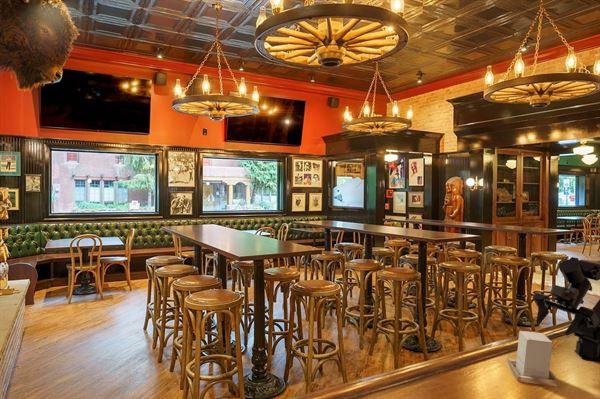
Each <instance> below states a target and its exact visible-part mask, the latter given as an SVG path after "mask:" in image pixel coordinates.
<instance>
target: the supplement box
mask: <svg viewBox="0 0 600 399" xmlns="http://www.w3.org/2000/svg"><path fill="white" fill-rule="evenodd" d="M552 348H553V341H552V340H551V339H550V338H549V337H548V336H547V335H546V334H545V333H544V332H542V333H541V332H535V331H527V330H526V331H525V330H519V332H518V340H517V351H516V359H515V360H516V366H515V369H516V371H517V372H518V374H519V375H520V376H526V377H533V378H541V379H548V380H549V379H550V378H549V370H550V369H551V368H550V367H551V358H552V350H553V349H552Z"/></svg>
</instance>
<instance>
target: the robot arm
mask: <svg viewBox="0 0 600 399" xmlns="http://www.w3.org/2000/svg"><path fill="white" fill-rule="evenodd" d="M558 269H559V272H560V273H561V275H562V276H563V279H564V280H565V281H566V282H567V285H566V286H560V285H557V284H552V287H551V289H550V291H549V295H553V299H554V300H555V301H553V300H551V299H550V297H549V295H548V294H547V295H546V294H544V293H540V292H535V293H534V294H533V295H532V297H531V298H532V300H533V301H534V303H535V304H536V306H537V315H536V322H535V323H536V324H537V325H538V326H539V325H540V324H541V323H542V322H543V321H544V320H545V318H547V316H548V315H549V314H550V310H551V309H552V308H554V309H556V310H559V311H563V312H566V313H569V314H571V315H573V316H574V318H573V319H572V321H571V322H570V324H569V325H568V327H567V329H566V331H565V333H564V334H565V336H569V335H571V334H573V335H574V337H577V338H578V339H577V340H576V345H575V349H574V353H576V354H577V355H578V357H580V358H581V359H582V360H586V361H595V362H600V298H599V299H598V301H597V302H596V303H595V305H594V306H593V307H592V308H589V307H585V306H583V304H584V303H585V301H584V298H585V296H586V295H587V293H588V292H592V291H593V286H592V282H591V281H590V280H592V281H597V282H598V281H600V260H596V261H595V260H594V261H593V260H587V259H579V258H578V257H573V256H571V257H570V258H568V259H564V260H562V261H561V262H559V264H558ZM580 304H581V305H582V306H580ZM579 306H580V307H579Z"/></svg>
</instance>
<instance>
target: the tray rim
mask: <svg viewBox="0 0 600 399" xmlns="http://www.w3.org/2000/svg"><path fill="white" fill-rule="evenodd" d="M516 360H517V359H510V358H506V362H505V364H506V366H507V367H508V369H509V370H510V372H511V373H512V375H513V377H514V378H515V380H516V381H517V382H520V383H526V384H533V385H534V384H536V385H542V386H549V387H555V388H556V387H557V388H560V386H561V382H560V381H559V379H558V378H557V377H556V376H555V375H554V373H553V372H552V371H551V370H550V369H549V378H548V379H541V378H533V377H526V376H521V375H520V373H519V372H518V370H517V369H516Z"/></svg>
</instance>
